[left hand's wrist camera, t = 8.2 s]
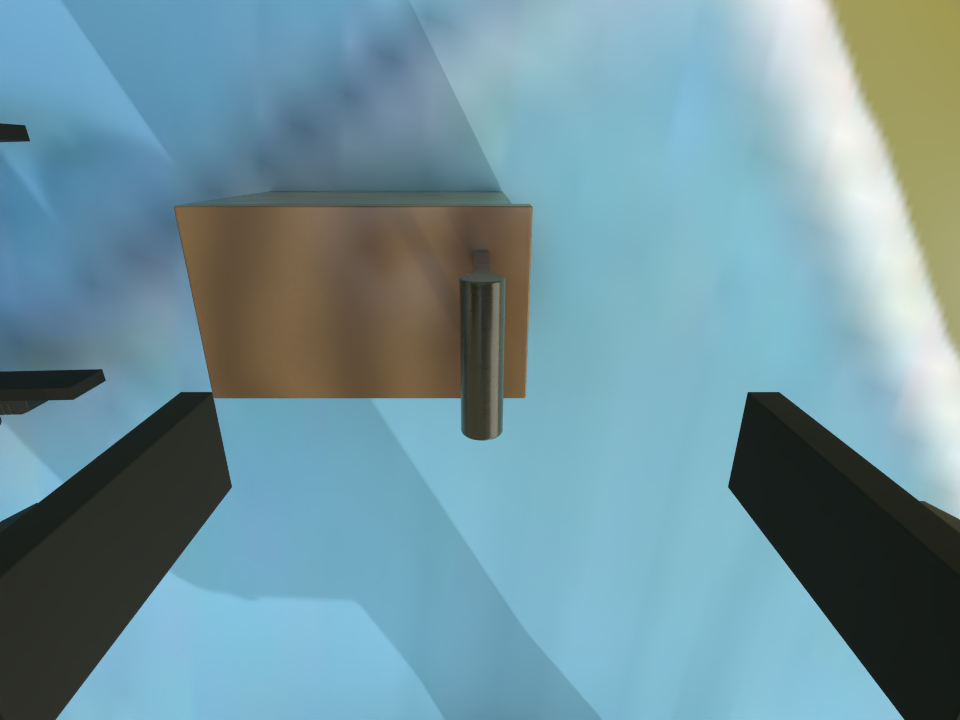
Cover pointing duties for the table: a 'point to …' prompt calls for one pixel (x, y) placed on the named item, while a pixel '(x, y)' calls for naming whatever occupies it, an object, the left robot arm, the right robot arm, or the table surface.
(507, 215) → the lid
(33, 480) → the table surface
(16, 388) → the right robot arm
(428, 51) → the table surface
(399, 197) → the chest
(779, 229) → the table surface
